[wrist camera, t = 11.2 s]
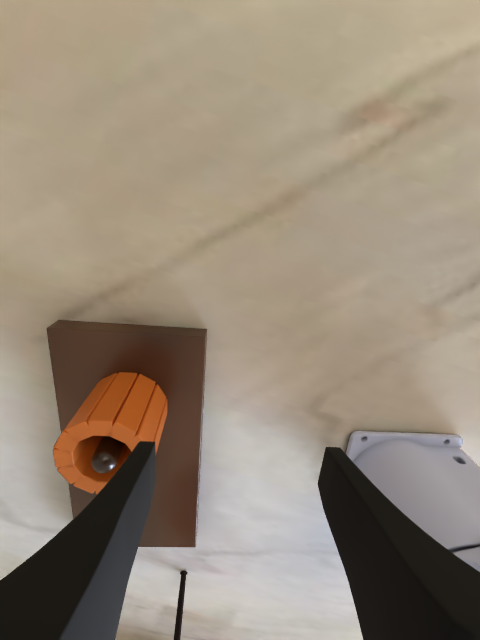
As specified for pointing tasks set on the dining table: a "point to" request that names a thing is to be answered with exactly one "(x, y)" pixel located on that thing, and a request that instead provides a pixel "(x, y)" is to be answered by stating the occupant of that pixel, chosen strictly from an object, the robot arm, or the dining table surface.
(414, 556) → the robot arm
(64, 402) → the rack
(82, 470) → the orange faceted tube
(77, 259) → the dining table surface
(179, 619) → the lollipop
